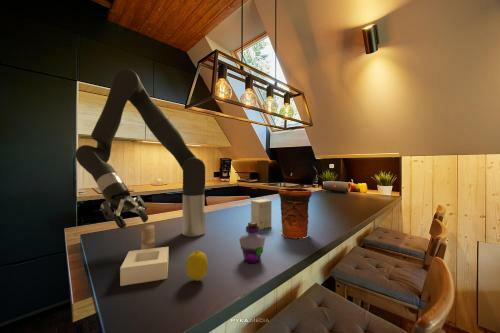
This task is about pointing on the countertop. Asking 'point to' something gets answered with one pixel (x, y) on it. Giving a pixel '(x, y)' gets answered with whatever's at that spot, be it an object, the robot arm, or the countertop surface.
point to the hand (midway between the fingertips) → (135, 223)
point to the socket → (144, 266)
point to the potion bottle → (252, 244)
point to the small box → (261, 213)
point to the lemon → (197, 265)
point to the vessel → (294, 211)
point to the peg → (147, 237)
